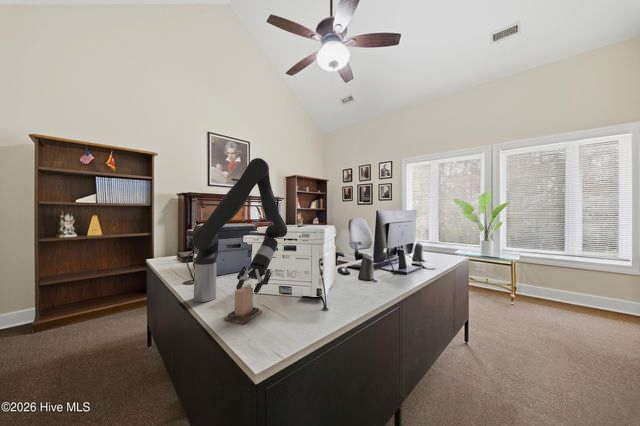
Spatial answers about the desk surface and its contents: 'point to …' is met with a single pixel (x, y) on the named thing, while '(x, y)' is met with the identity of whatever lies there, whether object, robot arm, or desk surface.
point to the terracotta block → (243, 301)
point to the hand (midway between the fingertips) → (246, 291)
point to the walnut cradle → (241, 319)
